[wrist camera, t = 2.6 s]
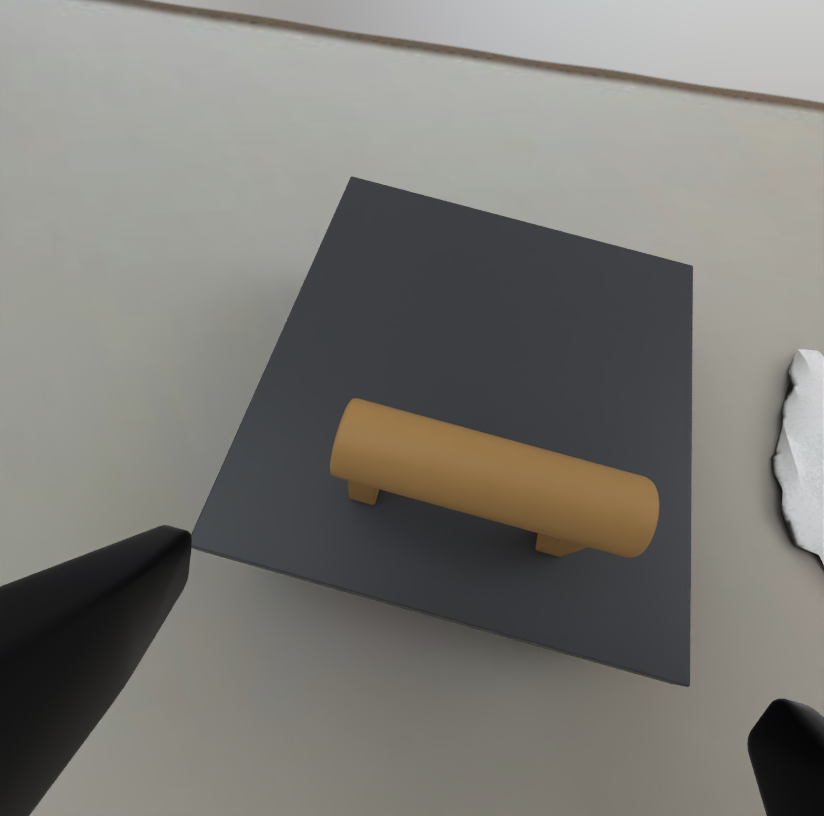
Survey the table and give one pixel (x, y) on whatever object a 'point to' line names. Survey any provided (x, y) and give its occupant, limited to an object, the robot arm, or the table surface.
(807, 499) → the cloth
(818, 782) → the robot arm
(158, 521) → the table surface
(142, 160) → the table surface
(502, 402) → the lid
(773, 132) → the table surface
